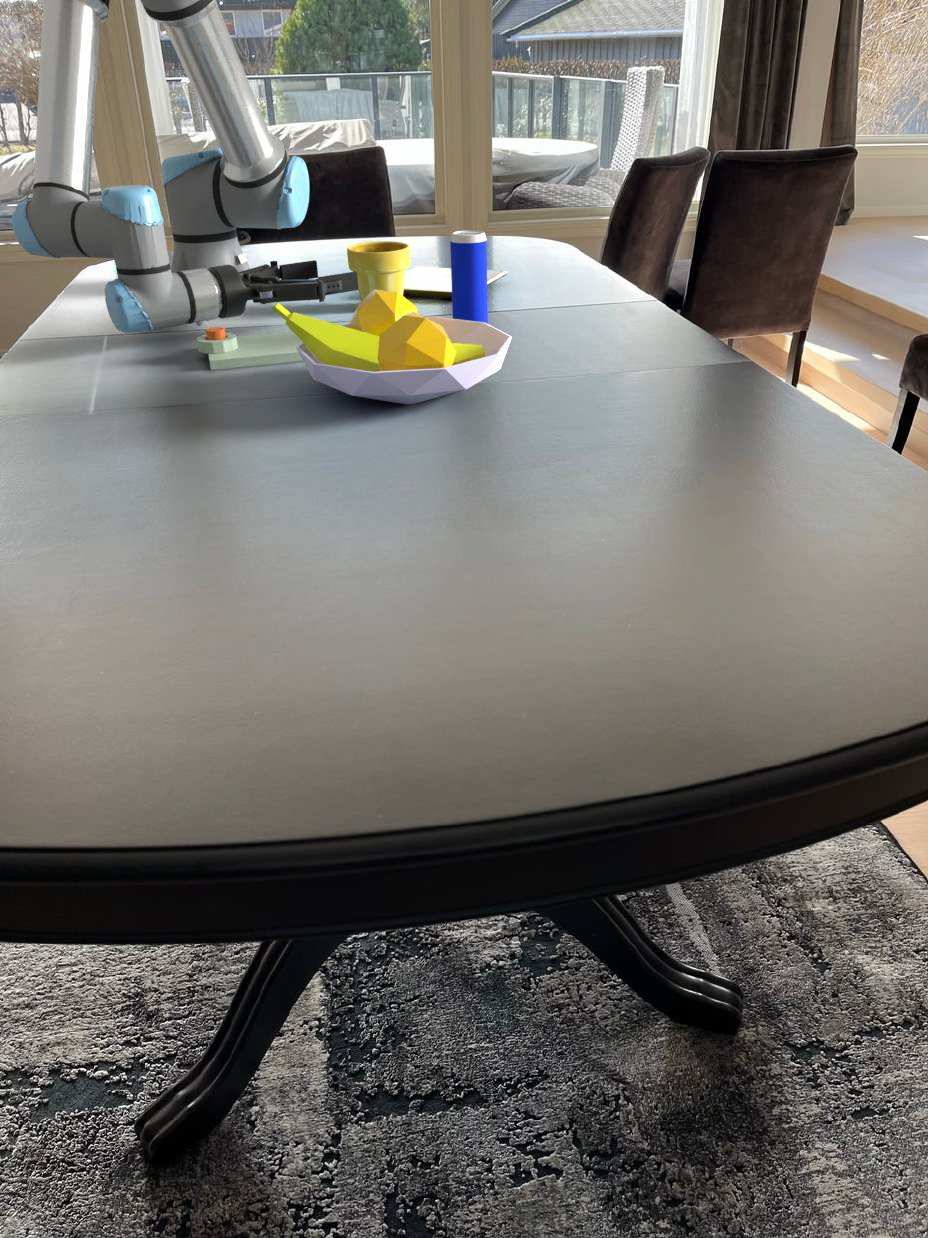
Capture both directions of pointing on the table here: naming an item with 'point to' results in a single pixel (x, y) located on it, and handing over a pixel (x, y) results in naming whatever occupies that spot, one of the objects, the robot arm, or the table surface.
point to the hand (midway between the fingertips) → (336, 274)
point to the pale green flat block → (250, 349)
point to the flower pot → (379, 265)
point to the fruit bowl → (397, 350)
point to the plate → (437, 281)
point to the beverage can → (469, 275)
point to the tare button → (215, 333)
